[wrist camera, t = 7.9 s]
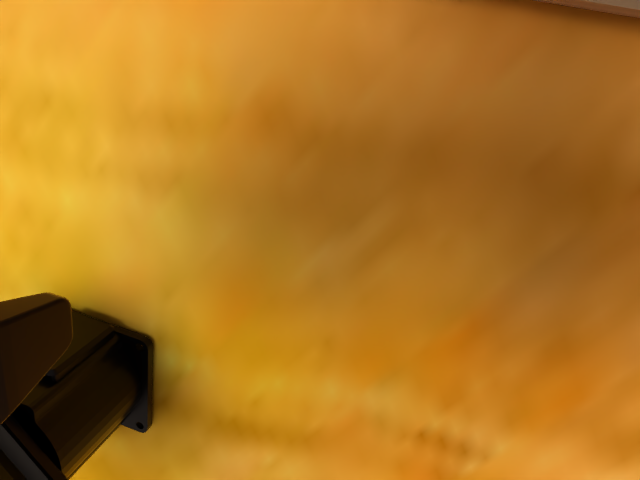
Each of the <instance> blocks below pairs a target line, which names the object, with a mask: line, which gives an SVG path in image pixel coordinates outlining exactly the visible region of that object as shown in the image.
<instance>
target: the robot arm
mask: <svg viewBox="0 0 640 480" xmlns="http://www.w3.org/2000/svg"><path fill="white" fill-rule="evenodd" d="M152 372H153V345H152V342H151V340H150V339H149V338H148V337H146V336H144V335H141V334H138V333H135V332H132V331H130V330H127V329H124V328H121V327H118V326H115V325H113V324H110V323H107V322H104V321H101V320H98V319H96V318H93V317H90V316H87V315H84V314H81V313H79V312H76V311H73V310H71V304H70V302H69V300H67V299H66V298H64V297H61V296H58V295H55V294H52V293H41V294H36V295H31V296H26V297H21V298H17V299H12V300H7V301H2V302H0V480H69V479H70V478H71V477H72V476H73V475H74V474H75V473H76V472H77V470H78V469H79V468H80V467H81V466H82V465H83V464H84V463H85V462H86V461H87V460H88V459H89V458H90V457H91V456H92V455H93V454H94V452H95V451H96V450H97V449H98V448H99V447H100V446H101V445H102V444H103V443H104V442H105V441H106V440H107V439H108V438H109V437H110V436H111V434H112V433H113V432H114V431H115V430H116V429H117V428H118V427H119V426H120V425H124V426H126V427H129V428H131V429H134V430H136V431H138V432H142V433H144V432H146V431H147V430H148V429H149V428H150V427H151V425H152Z"/></svg>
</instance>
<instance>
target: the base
mask: <svg viewBox="0 0 640 480" xmlns="http://www.w3.org/2000/svg"><path fill="white" fill-rule="evenodd" d="M534 1H540V2H546V3H552V4H558V5H564V6H570V7H576V8H582V9H588V10H594V11H600V12H606V13H612V14H618V15H624V16H630V17H636V18H640V0H534Z"/></svg>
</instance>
